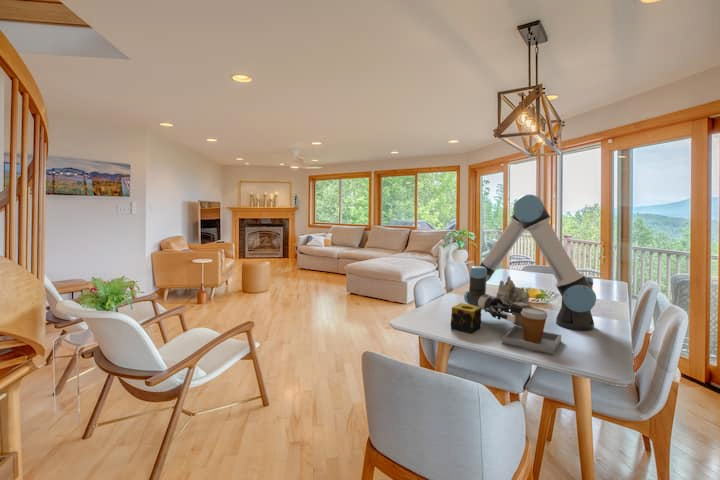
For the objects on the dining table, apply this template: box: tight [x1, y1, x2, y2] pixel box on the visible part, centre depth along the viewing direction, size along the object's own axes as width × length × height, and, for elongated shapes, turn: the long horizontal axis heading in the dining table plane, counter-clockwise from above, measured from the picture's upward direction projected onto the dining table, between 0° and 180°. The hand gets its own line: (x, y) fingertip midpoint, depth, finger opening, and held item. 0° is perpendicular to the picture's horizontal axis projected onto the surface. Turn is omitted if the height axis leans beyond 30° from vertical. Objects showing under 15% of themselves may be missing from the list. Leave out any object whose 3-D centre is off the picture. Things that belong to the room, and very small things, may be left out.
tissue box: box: [450, 302, 482, 335], centre depth 161 cm, size 10×10×10 cm
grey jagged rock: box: [495, 275, 531, 306], centre depth 206 cm, size 16×16×15 cm
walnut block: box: [511, 302, 530, 326], centre depth 171 cm, size 5×5×9 cm
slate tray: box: [501, 325, 562, 357], centre depth 146 cm, size 18×18×3 cm
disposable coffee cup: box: [521, 307, 548, 343], centre depth 146 cm, size 10×10×12 cm
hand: (527, 317), depth 147 cm, fingers open, 13 cm apart
